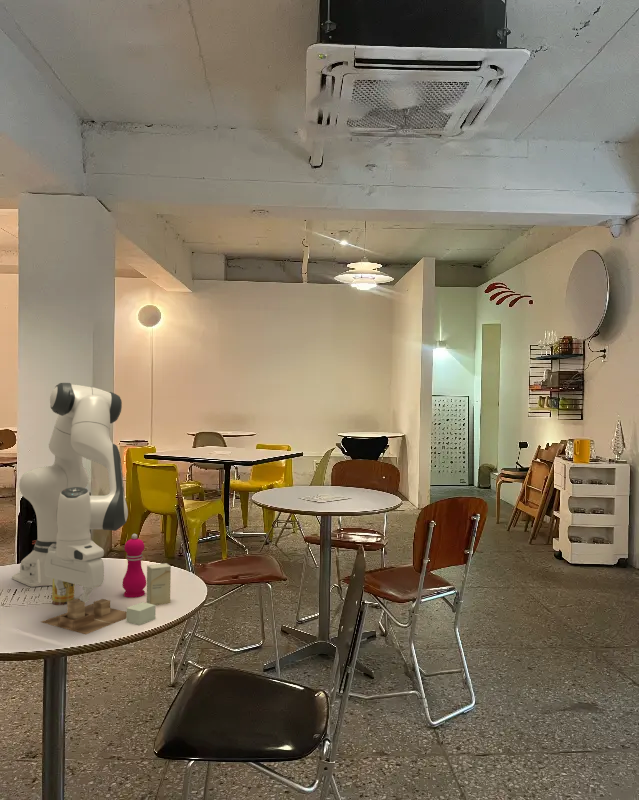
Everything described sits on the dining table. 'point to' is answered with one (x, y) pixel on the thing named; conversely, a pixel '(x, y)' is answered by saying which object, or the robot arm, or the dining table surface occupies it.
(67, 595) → the sauce bottle
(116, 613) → the board
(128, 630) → the dining table surface
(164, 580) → the skincare box
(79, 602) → the oak peg
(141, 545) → the pepper mill
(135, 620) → the housing
